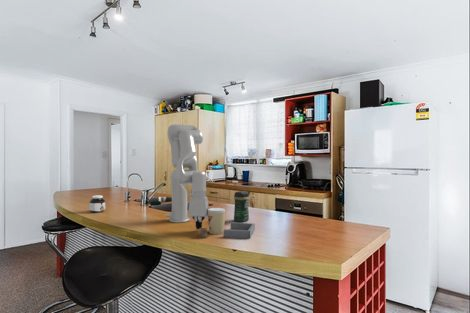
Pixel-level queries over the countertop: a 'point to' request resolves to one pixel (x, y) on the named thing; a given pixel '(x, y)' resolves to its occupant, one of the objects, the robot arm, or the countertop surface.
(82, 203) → the countertop surface
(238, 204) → the coffee jar
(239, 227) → the tray
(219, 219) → the coffee cup
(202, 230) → the walnut block
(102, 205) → the spread jar
